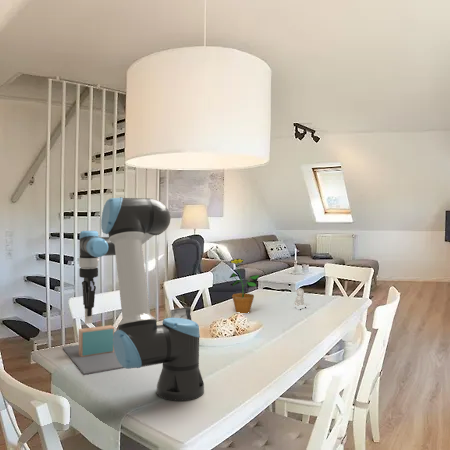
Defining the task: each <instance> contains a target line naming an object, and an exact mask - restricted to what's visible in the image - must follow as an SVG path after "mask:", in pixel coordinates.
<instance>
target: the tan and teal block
mask: <svg viewBox="0 0 450 450" xmlns="http://www.w3.org/2000/svg"><path fill="white" fill-rule="evenodd" d="M114 332H115V327H114V326H113V325H111V324H110V325H109V324H108V325H102V326H93V327H85V328H78V345H79V355H80V356H81V357H85V356H91V355H98V354H104V353H111V352H114V346H113V340H114V339H113V335H114Z"/></svg>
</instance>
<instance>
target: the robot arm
mask: <svg viewBox="0 0 450 450" xmlns="http://www.w3.org/2000/svg"><path fill="white" fill-rule="evenodd" d="M102 209H103V210H102V214H101V220H100V222H101V223H100V225H101V226H100V227H101V232H102V233H103V234H105V235H108V236H100V237H99V232H98V231H97V230H82V231H80V232H79V238H78V239H79V256H78V258H79V259H78V261H79V262H78V263H79V264H78V265H79V266H78V267H79V270H78V272H79V273H78V274H79V278H81V279H83V281H82V282H81V285H82V299H83V302H82V304H83V306H84V307H83V308H84V324H85V325H86V324H87V325H88V324H93V308H95V298H96V296H95V295H96V288H97V287H96V284H95V283H96V282H95V280H94V279H95V278H97V277H99V268H98V266H99V262H100V259H99V258H101V257H104V256H115V260H116V261H115V262H116V269H117V281H118V289H119V299H120V300H119V301H120V307H121V309H120V310H121V316H122V319H121V321H120V322H119V323H118V325H117V327H118V329H117V330H116V331H115V330H114V335H113V339H114V340H113V346H114V351H115V354H116V357H117V360H118V362H119V363H120V365H121V366H122V367H124V368H123V369H128V370H131V369H140V368H145V367H150V366H155V365H160V364H162V367H161V368H162V369H161V372H160V374H159V378H158V380H157V384H156V394H157V395H158V397H160V398H163V399H164V400H169V401H176V402H177V401H178V402H179V401H180V402H185V401H190V400H194V399H197V398H200V397H201V396H202V395H204V392H205V382H204V379H203V376H202V373H201V370H200V338H201V336H200V326H199V324H198V323H197V322H196V321H193V320H192V319H191V320H188V319H183V318H171V317H166V318H164V319H163V320H162V322H161V323H162V324H158V325H157V323H158V322H157V318H155V317H154V316H153V315H152V314H151V309H150V302H149V301H150V299H149V294H148V293H149V292H148V284H147V283H148V282H147V275H146V269H145V259H144V254H143V252H144V251H143V244H145V243H146V242H147V241H149V240H150V239H151V238H153V237H154V236H160V235H161V234H162V233H164V232H165V231H166V230H167V229H168V228H169V226H170V224H171V213H170V211H169V209H168V207H167V206H166V205H165V204H164V203H163V202H162V201H160V200H158V199H155V198H147V197H146V198H143V197H141V198H139V197H121V196H120V197H111V198H108V199H107V200H106V201H105V203H104V205H103V208H102Z"/></svg>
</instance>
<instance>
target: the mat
mask: <svg viewBox="0 0 450 450" xmlns="http://www.w3.org/2000/svg"><path fill="white" fill-rule="evenodd" d="M62 350H63V351H64V352H65V353H66V354H67V356H68V357H69V358H70V359H71V361H72V362H73V363H74V364H75V366H76V365H77V366H78V367H77V366H76V367H77V368H78V369H79V371H80V370H81V371H80V372H81V373H82V374H83V375H84V376H86V375H92V374H98V373H103V372H109V371H114V370H121V369H125V368H124V367H122V366H121V365H120V363H119V362H118V360H117V357H116V354H115V351H114V352H111V353H104V354H98V355H91V356H85V357H81V356H80V355H79V344H77V345H69V346H62Z"/></svg>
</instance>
